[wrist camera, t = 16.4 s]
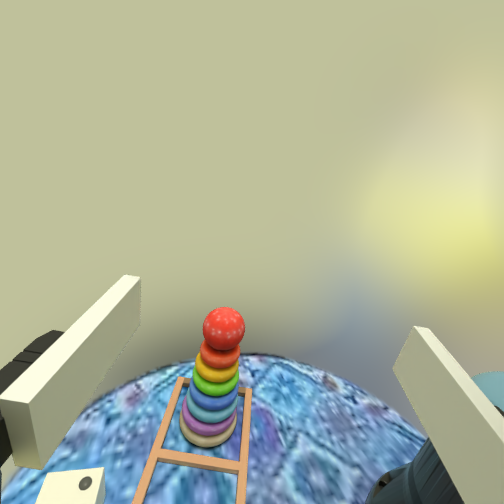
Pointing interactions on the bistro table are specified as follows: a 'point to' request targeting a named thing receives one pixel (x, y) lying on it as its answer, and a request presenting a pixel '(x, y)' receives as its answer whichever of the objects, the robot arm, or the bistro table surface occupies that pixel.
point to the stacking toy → (214, 381)
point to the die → (73, 487)
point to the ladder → (195, 459)
